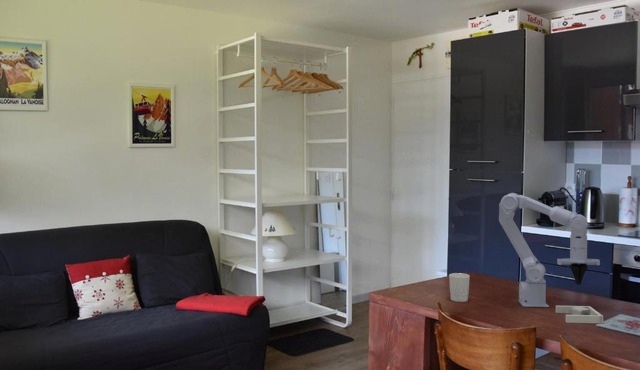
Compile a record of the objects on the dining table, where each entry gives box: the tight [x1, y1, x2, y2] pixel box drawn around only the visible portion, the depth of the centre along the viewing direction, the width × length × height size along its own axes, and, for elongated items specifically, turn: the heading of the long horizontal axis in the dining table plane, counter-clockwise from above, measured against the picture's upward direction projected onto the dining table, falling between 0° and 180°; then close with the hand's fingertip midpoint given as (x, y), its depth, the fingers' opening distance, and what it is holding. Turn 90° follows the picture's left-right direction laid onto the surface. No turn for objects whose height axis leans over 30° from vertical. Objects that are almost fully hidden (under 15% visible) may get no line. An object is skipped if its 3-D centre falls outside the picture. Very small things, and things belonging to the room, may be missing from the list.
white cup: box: [448, 272, 471, 303], centre depth 229 cm, size 8×8×10 cm
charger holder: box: [555, 305, 604, 324], centre depth 203 cm, size 12×13×2 cm
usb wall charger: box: [569, 305, 590, 315], centre depth 202 cm, size 4×7×4 cm, turn 16°
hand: (578, 283), depth 214 cm, fingers closed
